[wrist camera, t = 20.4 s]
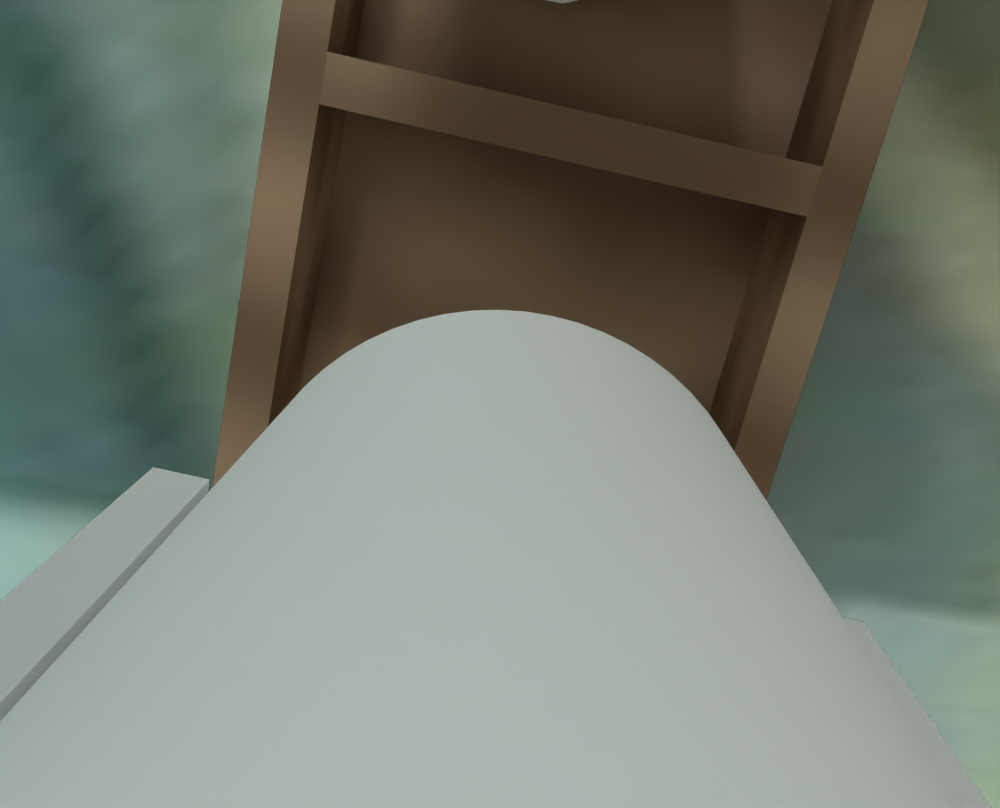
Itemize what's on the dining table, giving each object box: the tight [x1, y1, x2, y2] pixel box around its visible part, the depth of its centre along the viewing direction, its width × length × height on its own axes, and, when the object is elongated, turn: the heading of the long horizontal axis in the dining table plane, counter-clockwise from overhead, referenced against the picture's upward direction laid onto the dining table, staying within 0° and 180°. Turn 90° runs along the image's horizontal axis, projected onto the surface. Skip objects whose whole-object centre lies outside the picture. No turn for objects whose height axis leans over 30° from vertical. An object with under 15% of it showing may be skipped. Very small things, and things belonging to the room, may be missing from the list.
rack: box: [212, 0, 929, 499], centre depth 24 cm, size 28×14×4 cm, turn 168°
